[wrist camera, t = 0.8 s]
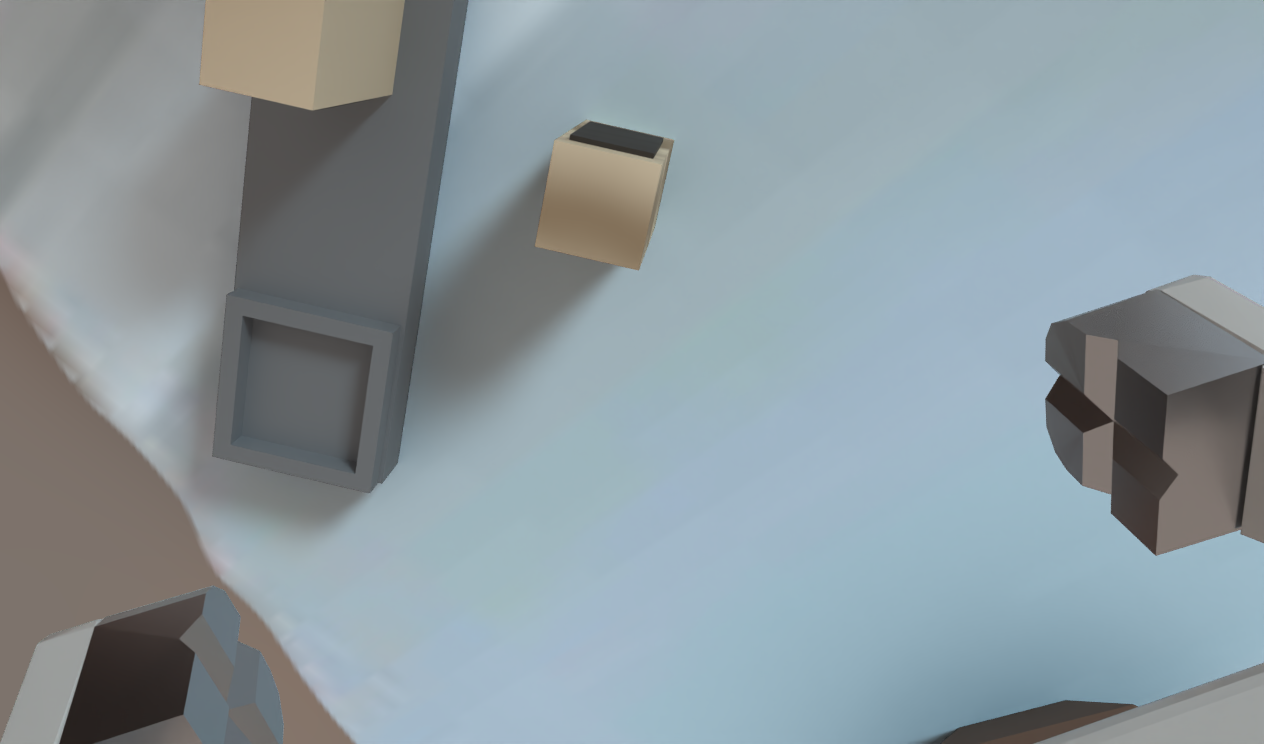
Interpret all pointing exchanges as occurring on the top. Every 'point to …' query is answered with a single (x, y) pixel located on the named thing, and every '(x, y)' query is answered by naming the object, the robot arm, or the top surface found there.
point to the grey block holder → (330, 224)
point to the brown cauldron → (1036, 723)
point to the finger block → (603, 193)
